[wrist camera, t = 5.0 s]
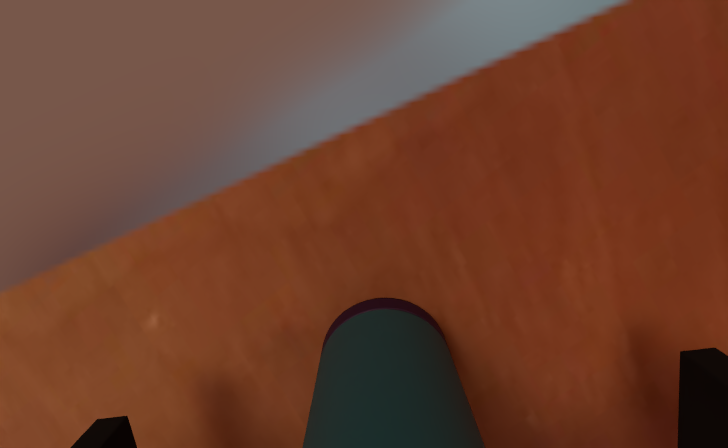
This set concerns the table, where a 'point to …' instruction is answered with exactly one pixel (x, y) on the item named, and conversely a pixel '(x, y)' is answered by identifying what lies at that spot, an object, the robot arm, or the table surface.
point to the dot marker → (388, 383)
